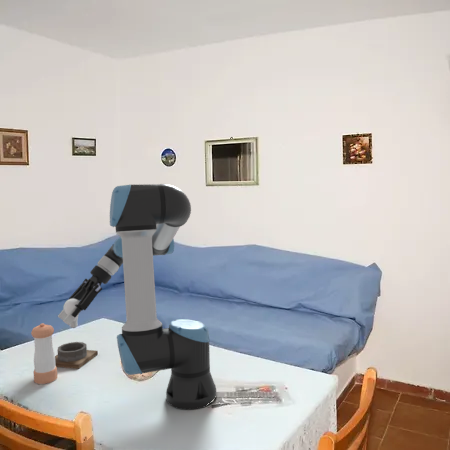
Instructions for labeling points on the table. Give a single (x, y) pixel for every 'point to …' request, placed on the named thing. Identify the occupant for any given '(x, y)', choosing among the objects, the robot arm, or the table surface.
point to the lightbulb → (69, 306)
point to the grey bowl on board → (73, 355)
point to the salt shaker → (44, 355)
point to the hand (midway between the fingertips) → (63, 320)
